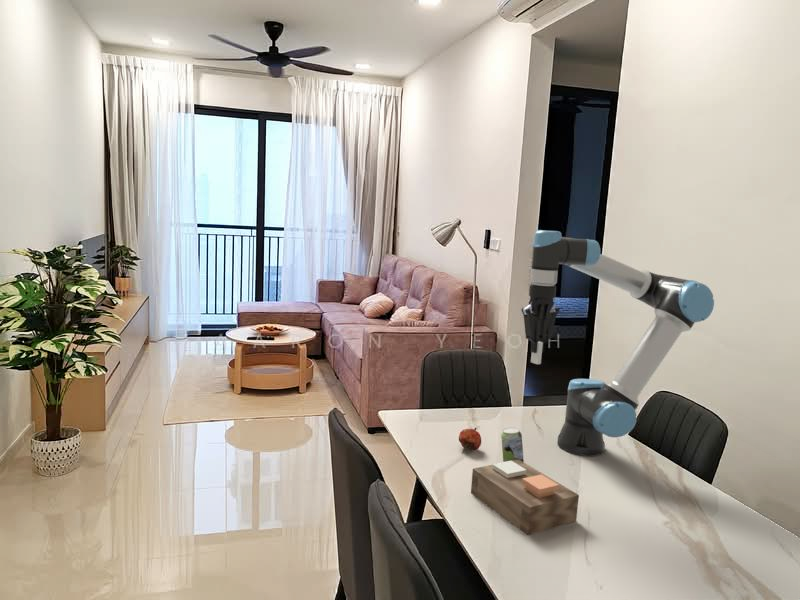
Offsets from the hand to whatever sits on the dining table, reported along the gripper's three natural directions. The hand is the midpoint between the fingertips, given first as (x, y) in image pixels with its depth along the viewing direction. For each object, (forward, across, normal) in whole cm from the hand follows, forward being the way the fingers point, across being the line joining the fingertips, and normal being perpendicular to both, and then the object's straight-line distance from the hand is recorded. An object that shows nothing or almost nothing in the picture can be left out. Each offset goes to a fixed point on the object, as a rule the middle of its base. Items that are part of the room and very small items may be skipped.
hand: (535, 363), depth 178 cm
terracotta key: (+31, +18, +25) cm, 44 cm away
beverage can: (+33, +5, -1) cm, 33 cm away
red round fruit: (+33, +9, -17) cm, 38 cm away
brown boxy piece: (+32, +18, +19) cm, 42 cm away
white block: (+32, +18, +13) cm, 39 cm away
